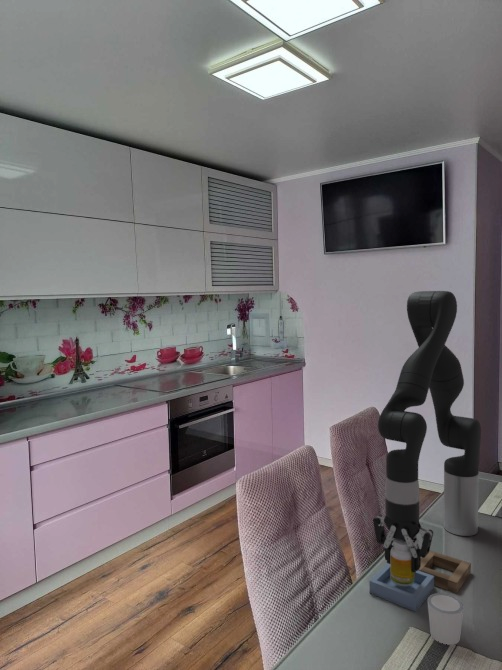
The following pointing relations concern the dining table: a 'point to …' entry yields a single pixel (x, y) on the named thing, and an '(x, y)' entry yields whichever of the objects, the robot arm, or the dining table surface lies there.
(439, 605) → the shot glass
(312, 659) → the dining table surface
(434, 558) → the collar
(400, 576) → the supplement bottle
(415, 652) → the dining table surface
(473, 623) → the dining table surface
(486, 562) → the dining table surface
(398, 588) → the tray
